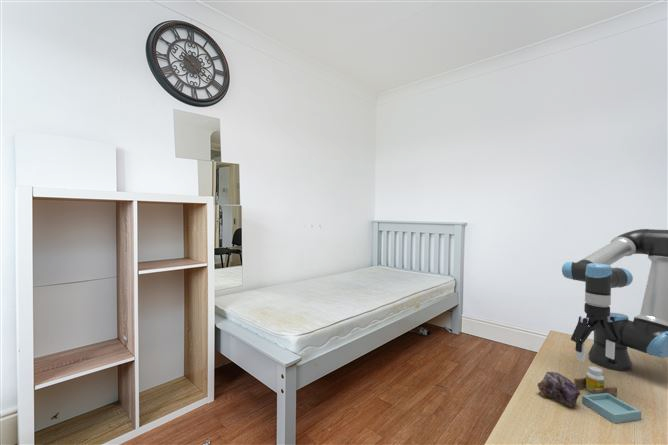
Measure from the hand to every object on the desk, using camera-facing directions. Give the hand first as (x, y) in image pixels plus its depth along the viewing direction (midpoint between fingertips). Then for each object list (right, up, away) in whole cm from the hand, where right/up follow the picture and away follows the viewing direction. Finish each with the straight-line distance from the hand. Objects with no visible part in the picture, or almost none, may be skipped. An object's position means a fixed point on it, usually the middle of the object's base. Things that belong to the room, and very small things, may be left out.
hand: (595, 359), depth 118 cm
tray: (-3, -14, -10) cm, 18 cm away
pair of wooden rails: (0, -13, +1) cm, 14 cm away
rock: (-16, -14, -3) cm, 22 cm away
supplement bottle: (0, -14, +1) cm, 14 cm away
